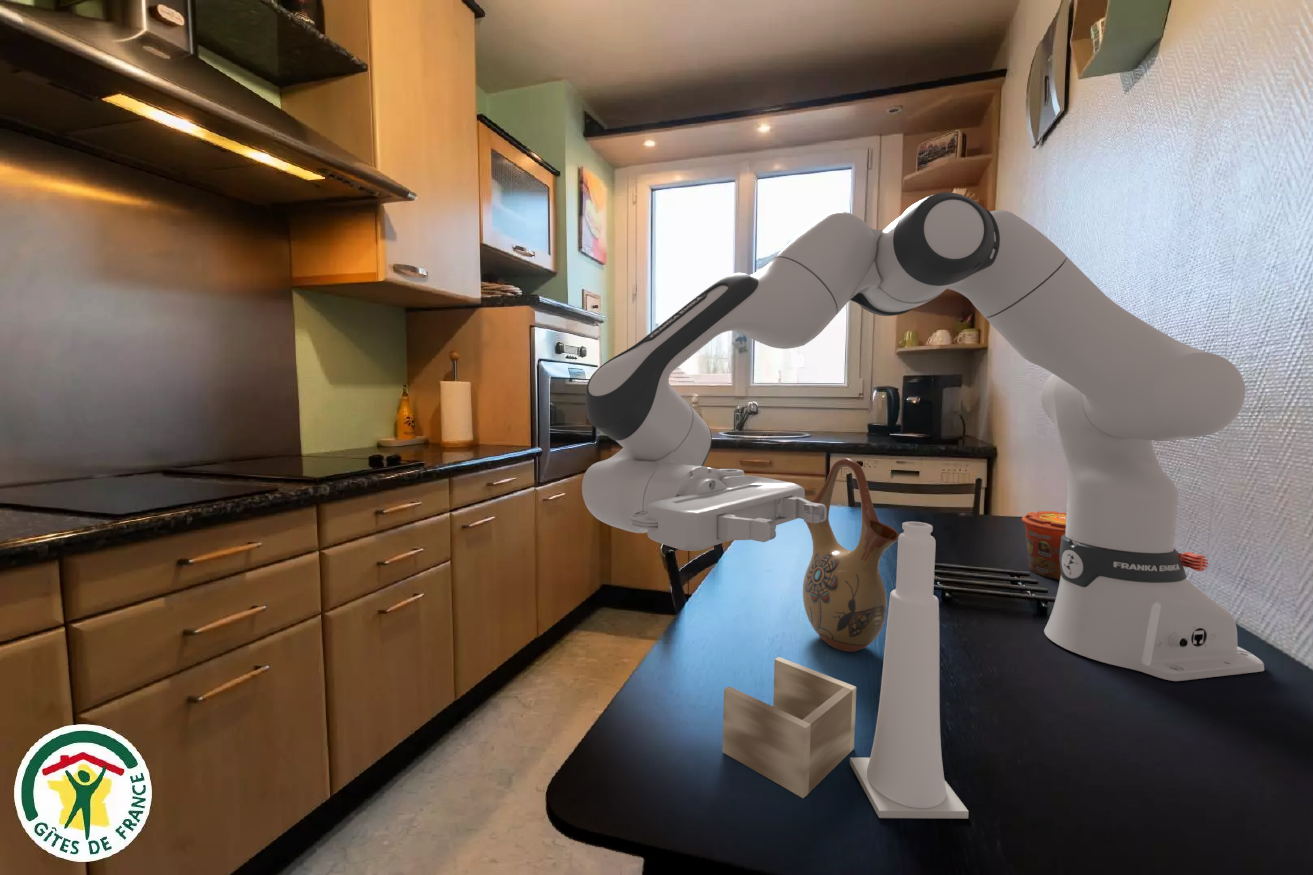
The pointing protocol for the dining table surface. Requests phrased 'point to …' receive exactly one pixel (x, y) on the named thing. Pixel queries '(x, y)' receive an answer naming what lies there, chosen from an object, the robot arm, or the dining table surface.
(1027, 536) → the food container
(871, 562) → the ceramic vessel
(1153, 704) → the dining table surface
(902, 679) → the cosmetic bottle
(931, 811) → the stone coaster
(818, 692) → the beech cradle
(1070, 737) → the dining table surface
